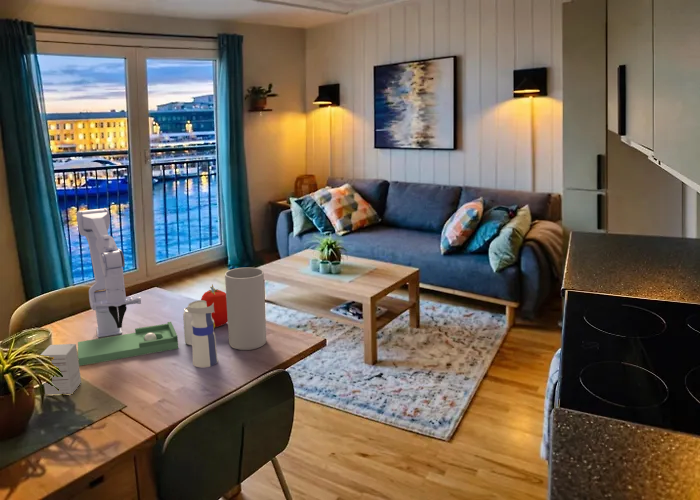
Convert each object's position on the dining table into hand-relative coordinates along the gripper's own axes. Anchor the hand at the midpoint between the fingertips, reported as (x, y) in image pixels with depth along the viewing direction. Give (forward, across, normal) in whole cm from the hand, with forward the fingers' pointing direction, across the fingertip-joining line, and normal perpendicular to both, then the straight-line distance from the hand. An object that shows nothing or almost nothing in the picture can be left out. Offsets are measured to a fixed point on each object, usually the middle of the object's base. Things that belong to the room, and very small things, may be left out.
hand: (119, 326), depth 185 cm
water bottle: (+8, +23, -21) cm, 32 cm away
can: (+8, +23, -4) cm, 25 cm away
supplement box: (+8, -17, -22) cm, 29 cm away
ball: (+6, +9, 0) cm, 11 cm away
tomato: (+8, +33, +7) cm, 35 cm away
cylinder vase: (+8, +39, -13) cm, 42 cm away
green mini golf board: (+8, +2, 0) cm, 8 cm away
